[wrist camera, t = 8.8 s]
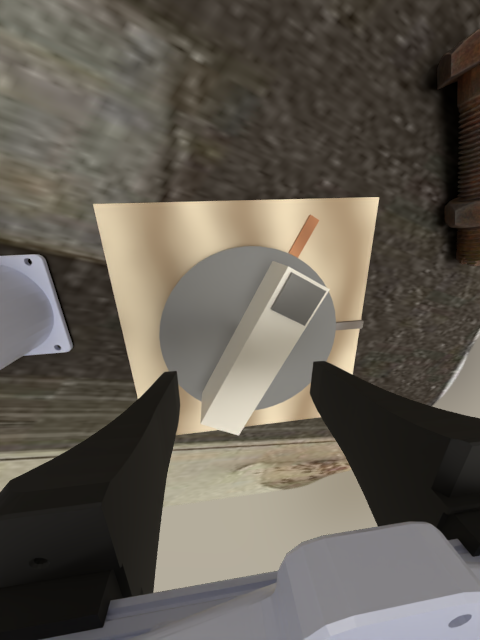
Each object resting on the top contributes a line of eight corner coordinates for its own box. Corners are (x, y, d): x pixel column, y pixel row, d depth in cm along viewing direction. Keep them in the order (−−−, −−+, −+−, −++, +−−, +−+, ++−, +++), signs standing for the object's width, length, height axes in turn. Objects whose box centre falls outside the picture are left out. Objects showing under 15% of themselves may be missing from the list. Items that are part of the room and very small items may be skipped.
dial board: (152, 422, 24) (146, 440, 21) (106, 207, 17) (91, 203, 15) (337, 400, 26) (348, 415, 23) (363, 201, 19) (382, 196, 17)
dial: (278, 421, 23) (294, 466, 18) (136, 372, 19) (113, 414, 14) (361, 295, 19) (408, 313, 15) (207, 208, 16) (206, 195, 11)
